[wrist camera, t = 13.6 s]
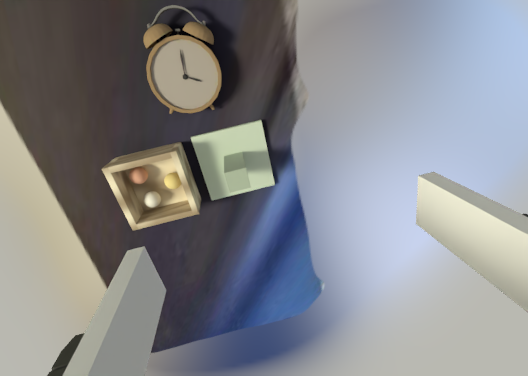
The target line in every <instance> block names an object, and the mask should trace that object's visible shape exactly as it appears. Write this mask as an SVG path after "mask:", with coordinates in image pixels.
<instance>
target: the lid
mask: <svg viewBox="0 0 528 376" xmlns="http://www.w3.org/2000/svg"><path fill="white" fill-rule="evenodd" d="M191 140H192V143H193V146H194V149H195V152H196V155H197V158H198V161H199V164H200V167H201V170H202V173H203V176H204V179H205V182H206V185H207V188H208V191H209V194H210V197H211V200H216V199H220V198H224V197H228V196H232V195H236V194H240V193H244V192H248V191H252V190H256V189H260V188H264V187H268V186H271V185H275V182H274V178H273V173H272V168H271V164H270V159H269V154H268V149H267V145H266V140H265V135H264V131H263V126H262V121H261V120H257V121H253V122H249V123H245V124H241V125H237V126H233V127H229V128H225V129H220V130H216V131H212V132H208V133H204V134H200V135H196V136H192V137H191Z"/></svg>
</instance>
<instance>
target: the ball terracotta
mask: <svg viewBox="0 0 528 376" xmlns="http://www.w3.org/2000/svg"><path fill="white" fill-rule="evenodd" d="M129 178H130V180H131V181H132V182H133V183H135V184H142V183H144V182H145V181H146V180H147V178H148V173H147V171H146V170H145V169H143V168H141V167H135V168H133V169H132V170H131V171H130V173H129Z"/></svg>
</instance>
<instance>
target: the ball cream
mask: <svg viewBox="0 0 528 376" xmlns="http://www.w3.org/2000/svg"><path fill="white" fill-rule="evenodd" d="M143 201H144V204H145V205H146V206H148V207H156V206H158V205H159V204H160V202H161V197H160V195H159V194H158V193H157V192H154V191H150V192H148V193H146V194H145V195H144V198H143Z"/></svg>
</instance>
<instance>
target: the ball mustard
mask: <svg viewBox="0 0 528 376" xmlns="http://www.w3.org/2000/svg"><path fill="white" fill-rule="evenodd" d="M164 183H165V185H166V186H167V187H168V188H170V189H176V188H178V187H179V186H180V185H181V181H180V178H179V175H178V174H177V173H169V174H167V175H166V177H165V179H164Z"/></svg>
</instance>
